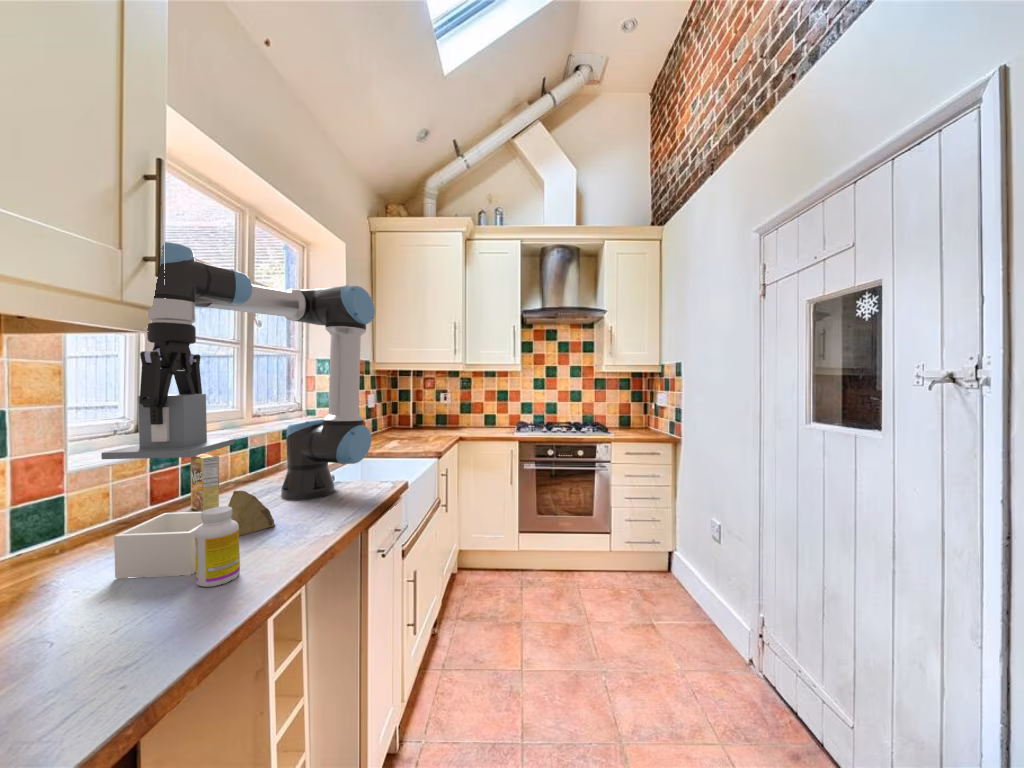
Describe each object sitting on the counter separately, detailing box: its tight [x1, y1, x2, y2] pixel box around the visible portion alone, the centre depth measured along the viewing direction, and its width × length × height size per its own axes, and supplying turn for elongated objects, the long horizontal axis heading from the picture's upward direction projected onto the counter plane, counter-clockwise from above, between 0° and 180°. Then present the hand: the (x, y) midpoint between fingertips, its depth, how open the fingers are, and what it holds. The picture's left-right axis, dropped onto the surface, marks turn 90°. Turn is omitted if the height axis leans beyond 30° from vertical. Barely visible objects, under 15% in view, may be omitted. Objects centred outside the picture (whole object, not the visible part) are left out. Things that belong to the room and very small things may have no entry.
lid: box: [100, 393, 236, 460], centre depth 84 cm, size 15×15×11 cm
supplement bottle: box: [195, 506, 241, 588], centre depth 77 cm, size 7×7×13 cm
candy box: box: [190, 452, 220, 512], centre depth 118 cm, size 9×4×15 cm, turn 55°
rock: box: [228, 490, 276, 537], centre depth 101 cm, size 11×9×10 cm
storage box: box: [113, 511, 203, 579], centre depth 85 cm, size 13×13×8 cm
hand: (174, 438), depth 84 cm, fingers closed on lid, 7 cm apart
